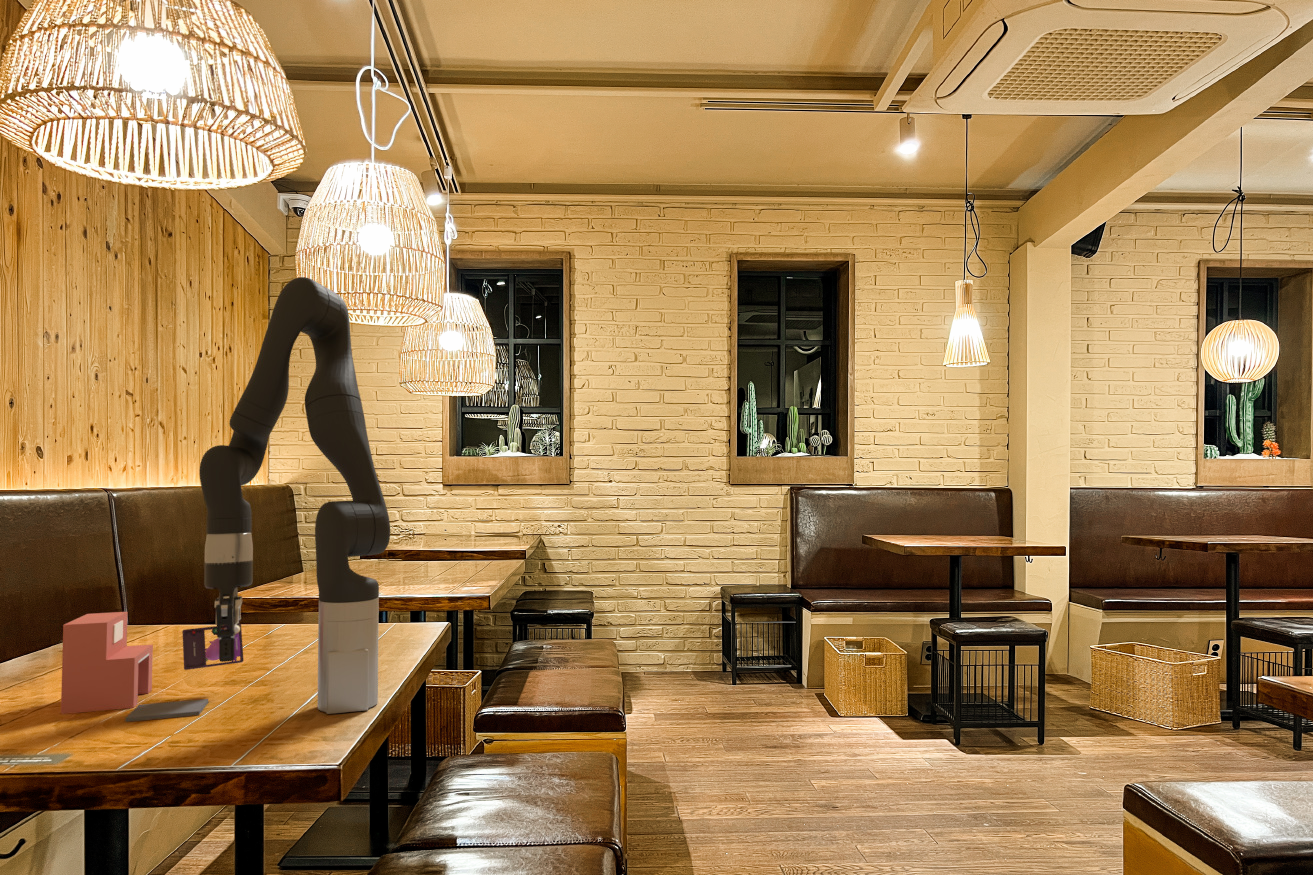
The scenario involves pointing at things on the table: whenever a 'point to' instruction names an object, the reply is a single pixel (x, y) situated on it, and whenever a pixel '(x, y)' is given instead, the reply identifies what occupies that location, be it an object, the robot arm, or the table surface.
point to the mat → (167, 710)
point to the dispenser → (102, 665)
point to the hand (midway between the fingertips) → (228, 658)
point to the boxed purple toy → (199, 655)
